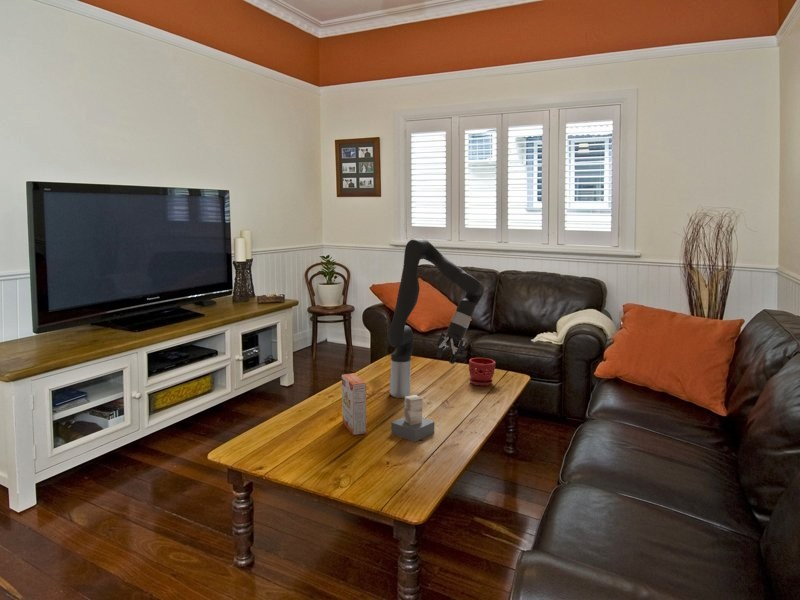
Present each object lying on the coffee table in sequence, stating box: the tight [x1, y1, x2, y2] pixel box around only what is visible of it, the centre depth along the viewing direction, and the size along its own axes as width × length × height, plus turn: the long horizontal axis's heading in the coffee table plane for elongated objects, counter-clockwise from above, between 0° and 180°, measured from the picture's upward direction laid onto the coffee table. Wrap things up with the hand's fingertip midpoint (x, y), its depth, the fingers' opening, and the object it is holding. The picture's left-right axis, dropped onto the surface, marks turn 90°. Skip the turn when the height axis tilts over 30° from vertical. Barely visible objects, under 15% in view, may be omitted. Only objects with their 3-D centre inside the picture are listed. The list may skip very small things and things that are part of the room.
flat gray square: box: [390, 416, 435, 443], centre depth 214 cm, size 12×12×5 cm
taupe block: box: [403, 394, 423, 425], centre depth 213 cm, size 5×5×10 cm
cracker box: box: [341, 373, 367, 436], centre depth 217 cm, size 14×6×21 cm, turn 23°
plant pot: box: [468, 357, 496, 387], centre depth 276 cm, size 13×13×12 cm
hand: (444, 360), depth 227 cm, fingers open, 8 cm apart
